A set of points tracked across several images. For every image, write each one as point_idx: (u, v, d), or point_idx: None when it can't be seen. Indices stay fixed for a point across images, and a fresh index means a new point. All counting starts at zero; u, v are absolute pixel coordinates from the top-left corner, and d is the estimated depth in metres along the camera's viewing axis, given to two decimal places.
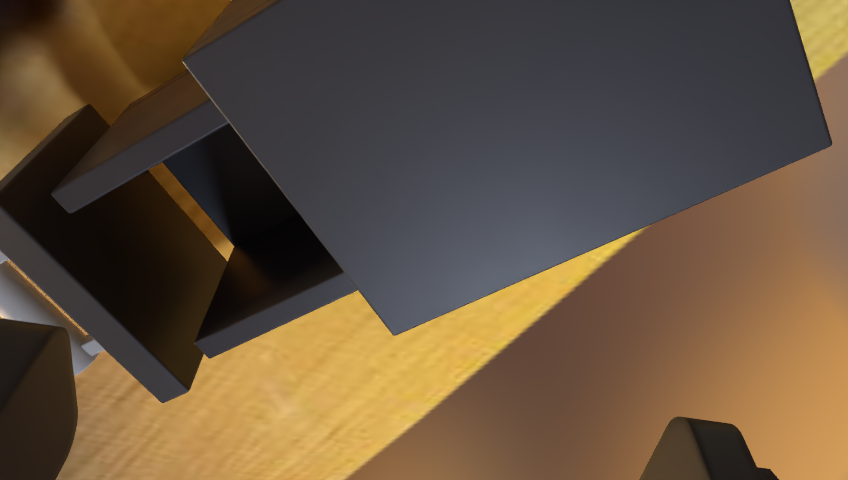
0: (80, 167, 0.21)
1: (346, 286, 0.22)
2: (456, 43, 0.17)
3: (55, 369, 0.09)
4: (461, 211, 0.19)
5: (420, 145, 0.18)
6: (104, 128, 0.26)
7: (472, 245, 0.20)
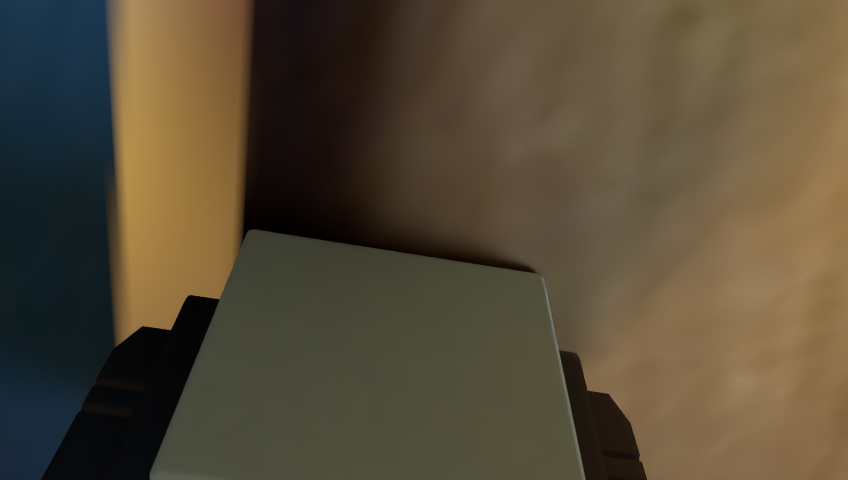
0: None
1: None
2: None
3: None
4: None
5: None
6: None
7: None
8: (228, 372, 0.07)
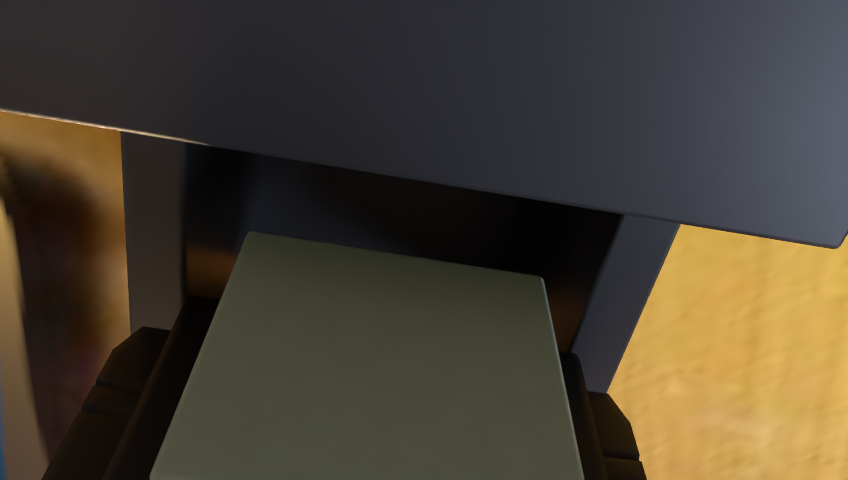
0: None
1: (653, 234, 0.09)
2: None
3: None
4: None
5: None
6: None
7: None
8: (228, 374, 0.07)
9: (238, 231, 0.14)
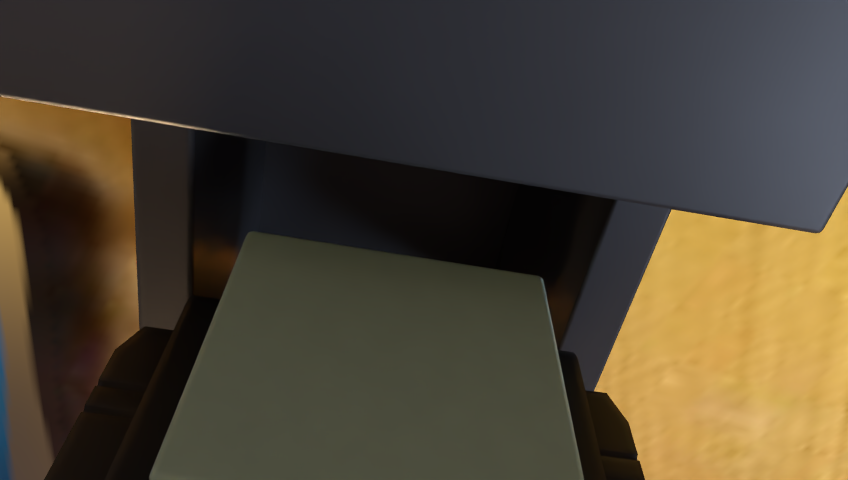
0: None
1: (642, 226, 0.10)
2: None
3: None
4: None
5: None
6: None
7: None
8: (228, 375, 0.07)
9: (242, 225, 0.14)
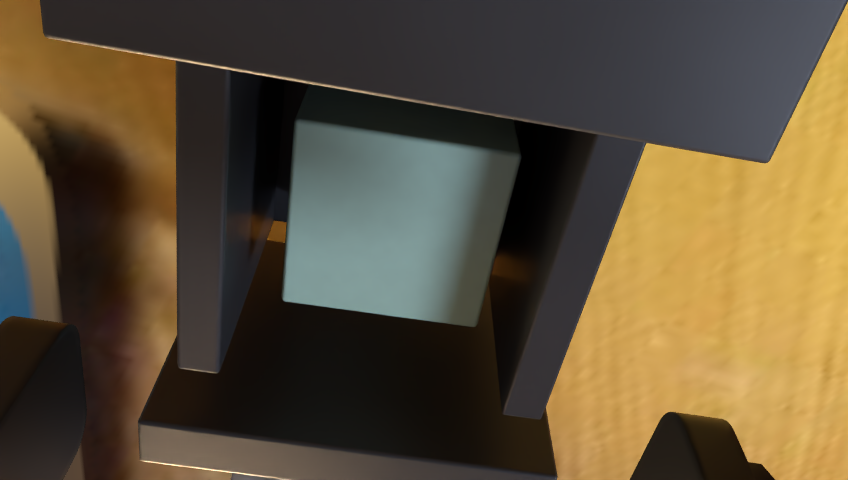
0: None
1: (616, 172, 0.11)
2: None
3: (65, 366, 0.09)
4: None
5: None
6: None
7: None
8: (325, 93, 0.14)
9: (262, 186, 0.15)
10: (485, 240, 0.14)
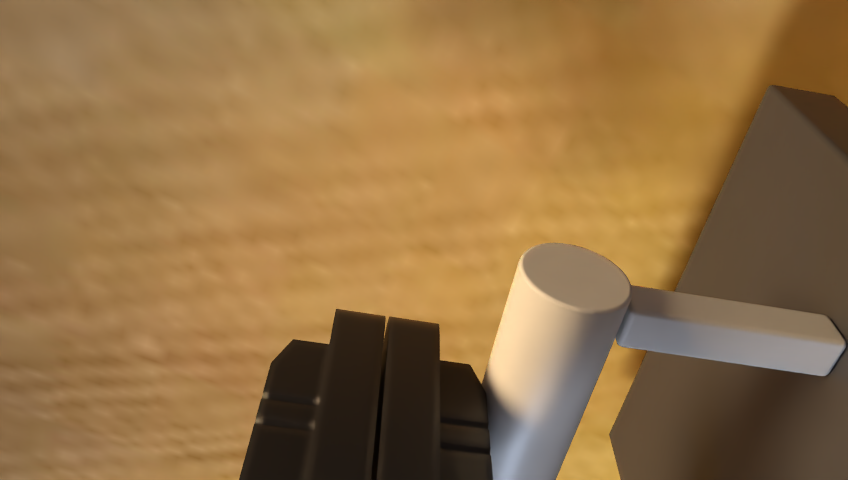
0: None
1: None
2: None
3: None
4: None
5: None
6: None
7: None
8: None
9: None
10: None
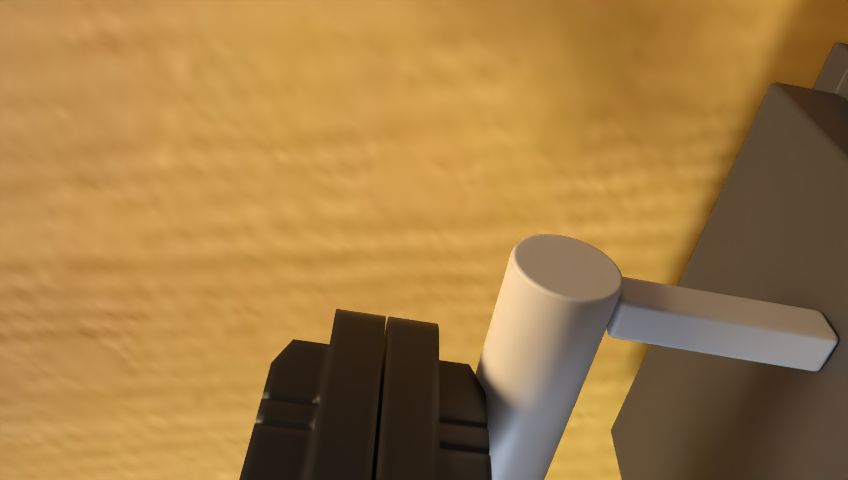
0: None
1: None
2: None
3: None
4: None
5: None
6: None
7: None
8: None
9: None
10: None
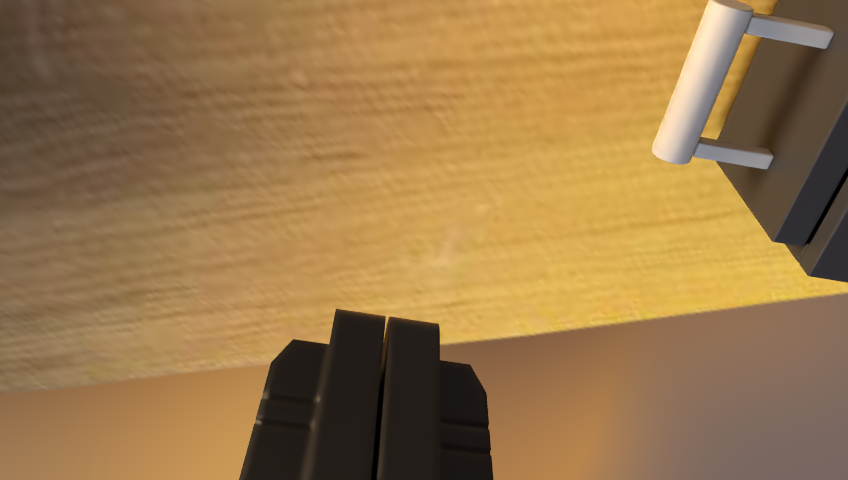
0: None
1: None
2: None
3: None
4: None
5: None
6: None
7: None
8: None
9: None
10: None
